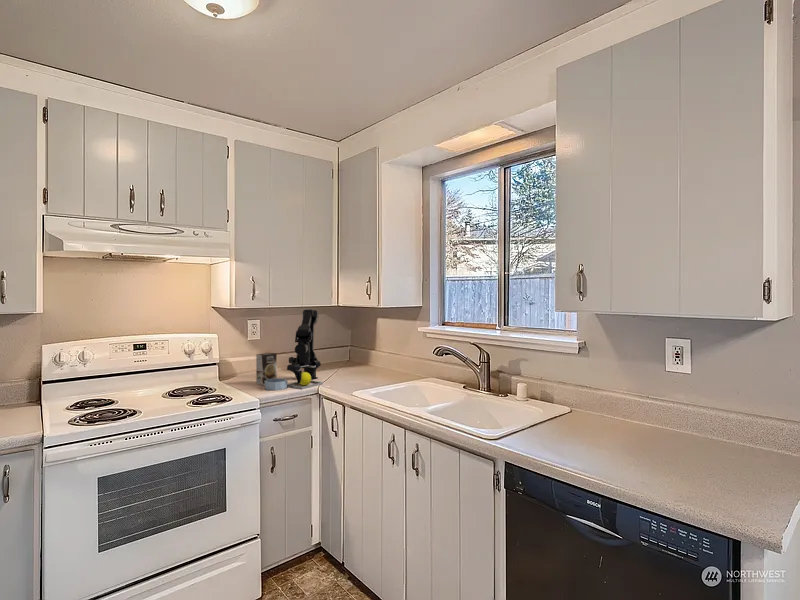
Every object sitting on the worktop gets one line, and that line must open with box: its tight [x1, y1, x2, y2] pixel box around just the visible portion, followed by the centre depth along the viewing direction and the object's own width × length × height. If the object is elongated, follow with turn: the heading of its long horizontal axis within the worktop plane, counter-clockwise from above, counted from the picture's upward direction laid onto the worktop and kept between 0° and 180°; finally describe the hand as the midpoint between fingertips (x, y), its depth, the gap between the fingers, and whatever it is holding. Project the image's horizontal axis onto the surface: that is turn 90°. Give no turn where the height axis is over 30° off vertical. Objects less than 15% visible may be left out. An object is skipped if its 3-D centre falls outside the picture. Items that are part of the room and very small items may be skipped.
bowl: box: [264, 377, 288, 391], centre depth 238 cm, size 11×11×4 cm
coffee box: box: [255, 352, 278, 386], centre depth 250 cm, size 9×6×16 cm
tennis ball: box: [298, 371, 311, 386], centre depth 244 cm, size 7×7×7 cm
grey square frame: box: [287, 379, 324, 390], centre depth 244 cm, size 15×13×1 cm
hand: (304, 381), depth 244 cm, fingers closed on tennis ball, 7 cm apart
